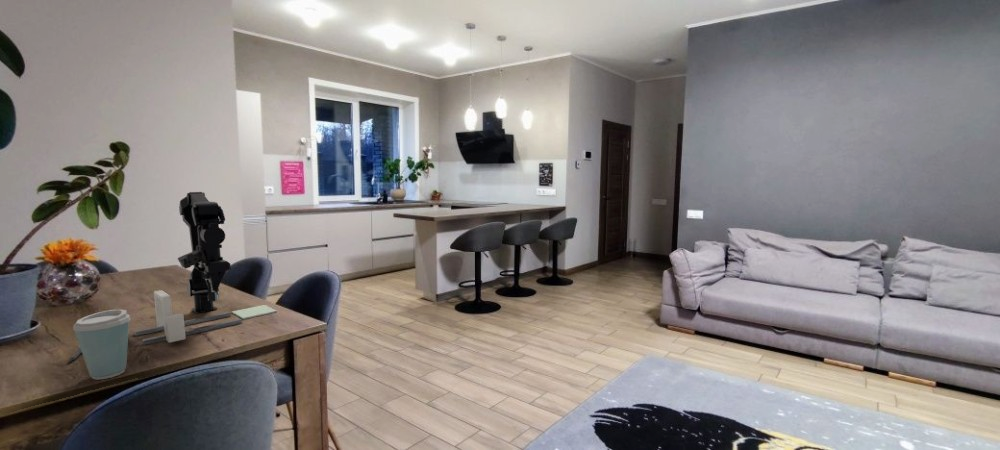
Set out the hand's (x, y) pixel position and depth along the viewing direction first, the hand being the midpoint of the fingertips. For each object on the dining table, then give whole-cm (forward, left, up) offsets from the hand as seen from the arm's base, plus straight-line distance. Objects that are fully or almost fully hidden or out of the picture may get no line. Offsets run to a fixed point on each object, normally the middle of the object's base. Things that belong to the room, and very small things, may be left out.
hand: (212, 289), depth 149 cm
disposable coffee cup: (+24, -30, -12) cm, 40 cm away
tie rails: (0, -7, -11) cm, 13 cm away
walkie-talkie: (-1, -29, -12) cm, 31 cm away
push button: (0, 0, -4) cm, 4 cm away
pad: (-3, +13, -11) cm, 18 cm away
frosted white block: (+5, -14, -10) cm, 17 cm away
